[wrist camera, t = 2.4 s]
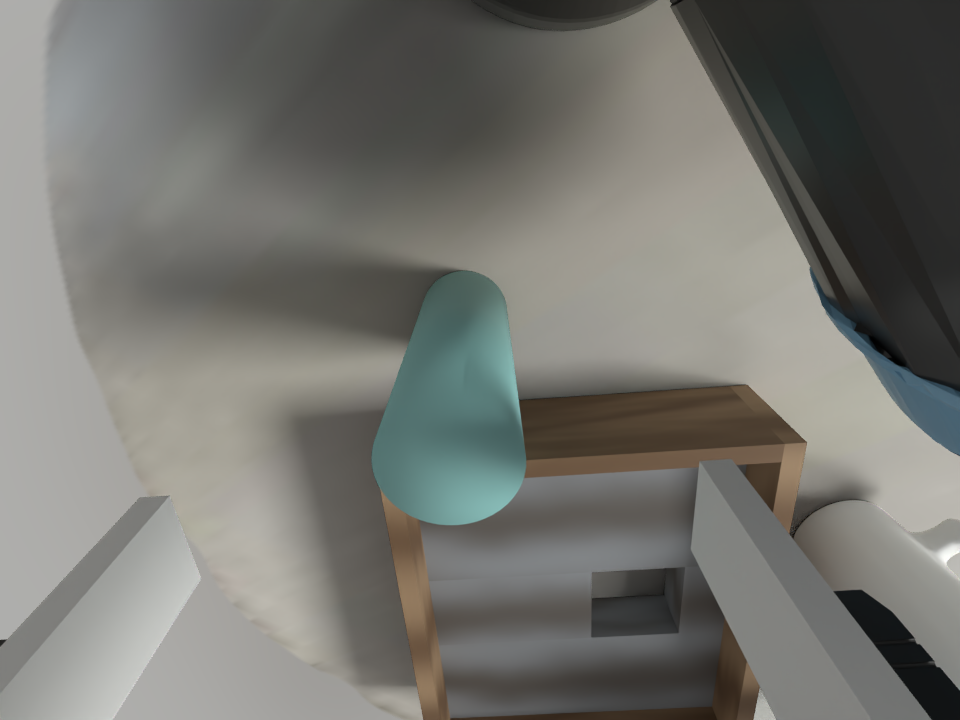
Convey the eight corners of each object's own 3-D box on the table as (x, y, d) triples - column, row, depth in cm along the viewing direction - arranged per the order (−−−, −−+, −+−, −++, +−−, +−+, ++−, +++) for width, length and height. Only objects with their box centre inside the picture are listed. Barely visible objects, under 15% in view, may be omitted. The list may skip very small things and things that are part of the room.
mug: (821, 592, 36) (969, 795, 25) (765, 538, 34) (898, 731, 23) (963, 508, 33) (1202, 696, 22) (911, 443, 31) (1142, 613, 20)
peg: (417, 274, 27) (359, 400, 15) (504, 267, 27) (522, 389, 14) (427, 354, 29) (384, 529, 16) (509, 348, 29) (529, 521, 16)
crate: (395, 408, 31) (376, 469, 25) (747, 385, 30) (806, 442, 24) (440, 687, 40) (433, 775, 35) (708, 674, 39) (744, 762, 34)
